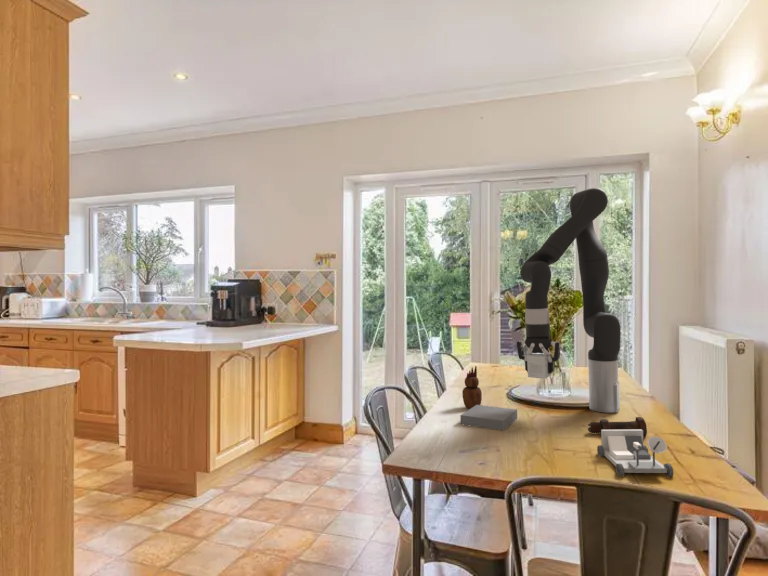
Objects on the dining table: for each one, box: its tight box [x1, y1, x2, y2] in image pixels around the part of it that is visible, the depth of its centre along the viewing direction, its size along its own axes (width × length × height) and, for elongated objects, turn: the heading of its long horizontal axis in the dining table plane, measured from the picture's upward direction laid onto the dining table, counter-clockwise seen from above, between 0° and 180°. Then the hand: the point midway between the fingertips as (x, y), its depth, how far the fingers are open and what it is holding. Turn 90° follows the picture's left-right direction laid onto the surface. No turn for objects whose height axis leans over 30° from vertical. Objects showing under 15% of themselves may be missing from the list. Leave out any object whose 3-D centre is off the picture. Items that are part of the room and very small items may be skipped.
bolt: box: [587, 416, 648, 438], centre depth 141 cm, size 6×5×15 cm
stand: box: [459, 404, 518, 431], centre depth 157 cm, size 14×14×3 cm
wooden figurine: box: [461, 365, 483, 410], centre depth 174 cm, size 7×6×15 cm
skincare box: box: [527, 353, 553, 380], centre depth 160 cm, size 6×6×7 cm
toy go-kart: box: [596, 429, 674, 478], centre depth 117 cm, size 18×10×12 cm
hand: (539, 372), depth 160 cm, fingers closed on skincare box, 6 cm apart
